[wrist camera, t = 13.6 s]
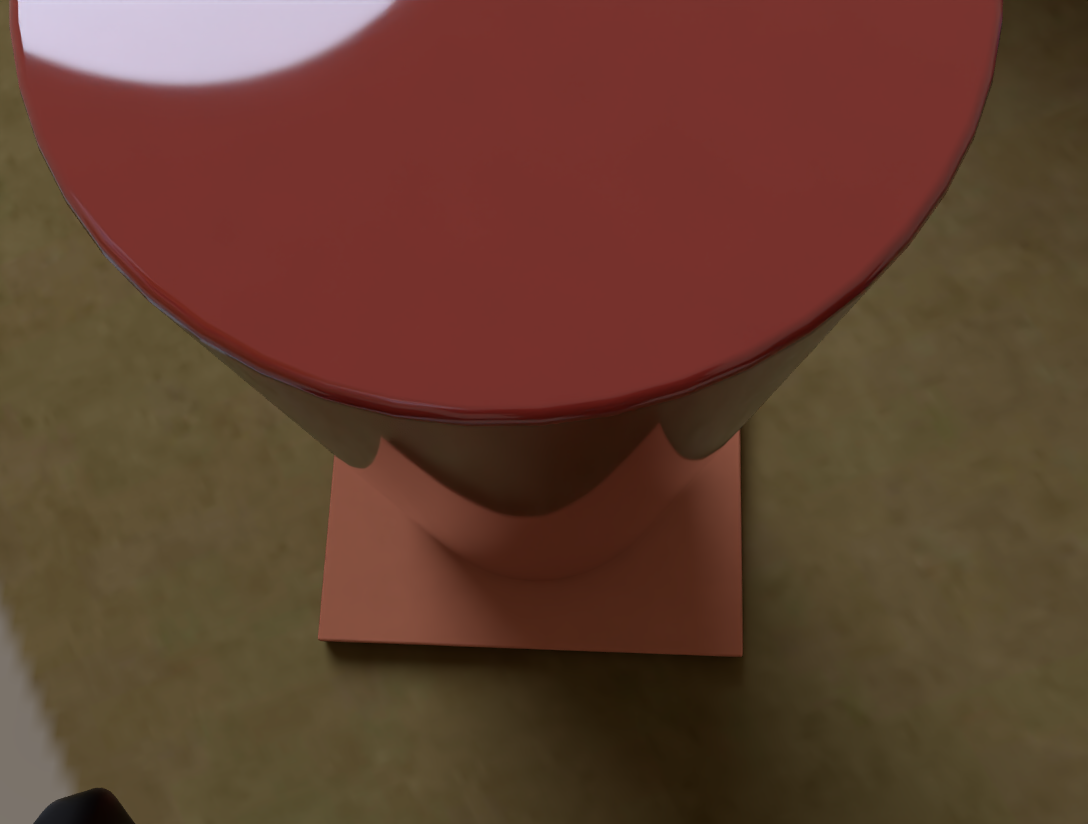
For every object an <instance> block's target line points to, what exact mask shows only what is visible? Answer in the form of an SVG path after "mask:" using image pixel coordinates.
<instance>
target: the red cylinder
mask: <svg viewBox="0 0 1088 824" xmlns="http://www.w3.org/2000/svg"><path fill="white" fill-rule="evenodd" d="M1002 20H1003V0H9V25H10V34H11V40H12V46H13V52H14V58H15V65H16V71H17V77H18V83H19V88H20V93H21V96H22V99H23V102H24V105H25V108H26V112H27V115H28V118H29V121H30V124H31V127H32V130H33V133H34V136H35V139H36V142H37V145H38V148H39V151H40V153H41V154H42V156H43V158H44V160H45V162H46V164H47V166H48V168H49V170H50V172H51V174H52V176H53V178H54V180H55V182H56V184H57V186H58V188H59V190H60V192H61V194H62V196H63V198H64V200H65V202H66V204H67V205H68V206H69V208H70V209H71V211H72V212H73V213H74V215H75V216H76V217H77V219H78V220H79V222H80V223H81V224H82V226H83V227H84V229H85V230H86V231H87V233H88V234H89V236H90V237H91V238H92V240H93V241H94V243H95V244H96V245H97V247H98V248H99V250H100V251H101V252H102V254H103V255H104V256H105V257H106V258H107V259H108V260H109V261H110V262H111V263H112V264H113V265H114V266H115V267H116V268H117V269H118V270H119V271H120V272H121V273H122V274H123V275H124V276H125V278H126V279H127V280H128V281H129V282H130V283H131V284H132V285H133V286H134V287H135V288H136V289H137V290H138V291H139V292H140V293H141V294H142V295H143V296H144V297H145V298H146V299H147V300H148V301H149V302H150V303H151V304H153V305H154V306H155V307H156V308H157V309H159V310H160V311H161V312H162V313H164V314H165V315H166V316H167V317H168V318H170V319H171V320H172V321H173V322H174V323H176V324H177V325H178V326H179V327H180V328H182V329H183V330H184V331H185V332H186V333H188V334H189V335H190V336H191V337H192V338H194V339H195V340H196V341H197V342H199V343H200V344H201V345H202V346H203V347H205V348H206V349H207V350H208V351H209V352H211V353H212V354H213V355H214V356H215V357H217V358H218V359H219V360H220V361H221V362H223V363H224V364H225V365H226V366H227V367H229V368H230V369H231V370H232V371H233V372H235V373H236V374H237V375H238V376H240V377H241V378H242V379H243V380H244V381H246V382H247V383H248V384H249V385H250V386H252V387H253V388H254V389H255V390H256V391H258V392H259V393H260V394H261V395H262V396H264V397H265V398H266V399H267V400H268V401H270V402H271V403H272V404H273V405H274V406H276V407H277V408H278V409H279V410H281V411H282V412H283V413H284V414H285V415H287V416H288V417H289V418H290V419H291V420H293V421H294V422H295V423H296V424H297V425H299V426H300V427H301V428H302V429H303V430H305V431H306V432H307V433H308V434H309V435H311V436H312V437H313V438H314V439H315V440H317V441H318V442H319V443H320V444H322V445H323V446H324V447H325V448H326V449H328V450H329V451H330V452H331V453H332V454H334V455H335V456H336V457H337V458H338V459H340V460H341V461H342V462H343V463H344V464H346V465H347V466H348V467H349V468H350V469H352V470H353V471H354V472H355V473H356V474H358V475H359V476H360V477H361V478H363V479H364V480H365V481H366V482H367V483H369V484H370V485H371V486H372V487H373V488H375V489H376V490H377V491H378V492H379V493H381V494H382V495H383V496H384V497H385V498H387V499H388V500H389V501H390V502H391V503H393V504H394V505H395V506H396V507H397V508H399V509H400V510H401V511H402V512H404V513H405V514H406V515H407V516H408V517H410V518H411V519H412V520H413V521H414V522H416V523H417V524H418V525H419V526H420V527H422V528H423V529H424V530H425V531H426V532H428V533H429V534H430V535H431V536H432V537H434V538H435V539H436V540H437V541H439V542H440V543H441V544H442V545H443V546H445V547H446V548H447V549H448V550H450V551H451V552H452V553H454V554H455V555H456V556H457V557H459V558H460V559H462V560H464V561H466V562H467V563H469V564H471V565H473V566H474V567H476V568H479V569H481V570H484V571H486V572H489V573H491V574H494V575H498V576H502V577H505V578H509V579H516V580H524V581H552V580H559V579H566V578H570V577H574V576H577V575H581V574H585V573H587V572H589V571H592V570H594V569H596V568H599V567H601V566H603V565H605V564H607V563H608V562H610V561H612V560H613V559H615V558H617V557H618V556H620V555H621V554H622V553H623V552H625V551H626V550H627V549H628V548H630V547H631V546H632V545H633V544H634V543H635V542H636V541H637V540H638V539H639V538H640V537H641V536H642V535H643V534H644V533H645V532H646V531H647V530H648V529H649V527H650V526H651V525H652V524H653V523H654V522H655V521H656V520H657V519H658V518H659V517H660V516H661V514H662V513H663V512H664V511H665V510H666V509H667V508H668V507H669V506H670V505H671V504H672V503H673V501H674V500H675V499H676V498H677V497H678V496H679V495H680V494H681V493H682V492H683V491H684V490H685V488H686V487H687V486H688V485H689V484H690V483H691V482H692V481H693V480H694V479H695V478H696V476H697V475H698V474H699V473H700V472H701V471H702V470H703V469H704V468H705V467H706V466H707V465H708V463H709V462H710V461H711V460H712V459H713V458H714V457H715V456H716V455H717V454H718V453H719V452H720V450H721V449H722V448H723V447H724V446H725V445H726V444H727V443H728V442H729V441H730V440H731V438H732V437H733V436H734V435H735V434H736V433H737V432H738V431H739V430H740V429H741V428H742V427H743V425H744V424H745V423H746V422H747V421H748V420H749V419H750V418H751V417H752V416H753V415H754V414H755V412H756V411H757V410H758V409H759V408H760V407H761V406H762V405H763V404H764V403H765V402H766V401H767V399H768V398H769V397H770V396H771V395H772V394H773V393H774V392H775V391H776V390H777V389H778V387H779V386H780V385H781V384H782V383H783V382H784V381H785V380H786V379H787V378H788V377H789V376H790V374H791V373H792V372H793V371H794V370H795V369H796V368H797V367H798V366H799V365H800V364H801V363H802V361H803V360H804V359H805V358H806V357H807V356H808V355H809V354H810V353H811V352H812V351H813V349H814V348H815V347H816V346H817V345H818V344H819V343H820V342H821V341H822V340H823V339H824V338H825V336H826V335H827V334H828V333H829V332H830V331H831V330H832V329H833V328H834V327H835V326H836V325H837V323H838V322H839V321H840V320H841V319H842V318H843V317H844V316H845V315H846V314H847V313H848V312H849V310H850V309H851V308H852V307H853V306H854V305H855V304H856V303H857V302H858V301H859V300H860V298H861V297H862V296H863V295H864V294H865V293H866V292H867V291H868V290H869V289H870V288H871V287H872V285H873V284H874V283H875V282H876V281H877V280H878V279H879V278H880V277H881V276H882V275H883V274H884V272H885V271H886V270H887V269H888V268H889V267H890V266H891V265H892V264H893V263H894V262H895V260H896V259H897V258H898V257H899V256H900V255H901V254H902V253H903V252H904V251H905V250H906V249H907V247H908V246H909V245H910V244H911V242H912V241H913V240H914V238H915V237H916V235H917V234H918V233H919V231H920V230H921V228H922V227H923V226H924V224H925V223H926V221H927V220H928V219H929V217H930V216H931V214H932V213H933V212H934V210H935V209H936V207H937V206H938V205H939V203H940V202H941V200H942V199H943V198H944V196H945V195H946V193H947V191H948V189H949V187H950V185H951V183H952V181H953V179H954V177H955V175H956V173H957V171H958V169H959V167H960V165H961V164H962V162H963V160H964V158H965V156H966V154H967V152H968V150H969V148H970V146H971V144H972V142H973V140H974V137H975V134H976V131H977V128H978V125H979V122H980V119H981V116H982V113H983V110H984V107H985V104H986V101H987V98H988V95H989V92H990V89H991V86H992V83H993V77H994V71H995V65H996V59H997V53H998V47H999V41H1000V35H1001V29H1002Z"/></svg>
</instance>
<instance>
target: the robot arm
mask: <svg viewBox="0 0 1088 824" xmlns="http://www.w3.org/2000/svg"><path fill="white" fill-rule="evenodd" d="M34 824H135V823H134V822H133V820H132V819H131V817H130V816H129V815H128V813H127V812H126V811H125V809H124V808H123V806H122V805H121V804H120V802H119V801H118V799H117V798H116V797H115V796H114V795H113V794H112V792H110V791H109V790H107V789H104V788H94V789H91V790H88V791H84V792H81V793H78V794H74V795H71V796H68V797H64V798H61V799H58V800H56V801H55V802H53V803H52V804H50V805H49V806H48V807H47V808H46V809H45V810H44V811H43V812H42V813H41V815H40V816H39V817H38V818H37V820H36V821H35V822H34Z"/></svg>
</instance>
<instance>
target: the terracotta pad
mask: <svg viewBox="0 0 1088 824" xmlns="http://www.w3.org/2000/svg"><path fill="white" fill-rule="evenodd" d="M318 639H319V640H320V641H334V642H360V643H386V644H412V645H439V646H465V647H491V648H517V649H544V650H570V651H596V652H623V653H649V654H675V655H701V656H728V657H741V656H742V655H743V617H742V534H741V450H740V430H739V431H738V432H737V433H736V434H735V435H734V436H733V437H732V438H731V440H730V441H729V442H728V443H727V444H726V445H725V446H724V447H723V448H722V449H721V450H720V452H719V453H718V454H717V455H716V456H715V457H714V458H713V459H712V460H711V461H710V462H709V463H708V465H707V466H706V467H705V468H704V469H703V470H702V471H701V472H700V473H699V474H698V475H697V476H696V478H695V479H694V480H693V481H692V482H691V483H690V484H689V485H688V486H687V487H686V488H685V490H684V491H683V492H682V493H681V494H680V495H679V496H678V497H677V498H676V499H675V500H674V501H673V503H672V504H671V505H670V506H669V507H668V508H667V509H666V510H665V511H664V512H663V513H662V514H661V516H660V517H659V518H658V519H657V520H656V521H655V522H654V523H653V524H652V525H651V526H650V527H649V529H648V530H647V531H646V532H645V533H644V534H643V535H642V536H641V537H640V538H639V539H638V540H637V541H636V542H635V543H634V544H633V545H632V546H631V547H630V548H628V549H627V550H626V551H625V552H623V553H622V554H621V555H620V556H618V557H617V558H615V559H613V560H612V561H610V562H608V563H607V564H605V565H603V566H601V567H599V568H596V569H594V570H592V571H589V572H587V573H585V574H581V575H577V576H574V577H570V578H566V579H559V580H552V581H524V580H516V579H509V578H505V577H502V576H498V575H494V574H491V573H489V572H486V571H484V570H481V569H479V568H476V567H474V566H473V565H471V564H469V563H467V562H466V561H464V560H462V559H460V558H459V557H457V556H456V555H455V554H454V553H452V552H451V551H450V550H448V549H447V548H446V547H445V546H443V545H442V544H441V543H440V542H439V541H437V540H436V539H435V538H434V537H432V536H431V535H430V534H429V533H428V532H426V531H425V530H424V529H423V528H422V527H420V526H419V525H418V524H417V523H416V522H414V521H413V520H412V519H411V518H410V517H408V516H407V515H406V514H405V513H404V512H402V511H401V510H400V509H399V508H397V507H396V506H395V505H394V504H393V503H391V502H390V501H389V500H388V499H387V498H385V497H384V496H383V495H382V494H381V493H379V492H378V491H377V490H376V489H375V488H373V487H372V486H371V485H370V484H369V483H367V482H366V481H365V480H364V479H363V478H361V477H360V476H359V475H358V474H356V473H355V472H354V471H353V470H352V469H350V468H349V467H348V466H347V465H346V464H344V463H343V462H342V461H341V460H340V459H338V458H337V457H336V456H335V455H334V466H333V477H332V488H331V499H330V510H329V521H328V532H327V543H326V554H325V565H324V577H323V588H322V599H321V610H320V621H319V632H318Z"/></svg>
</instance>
